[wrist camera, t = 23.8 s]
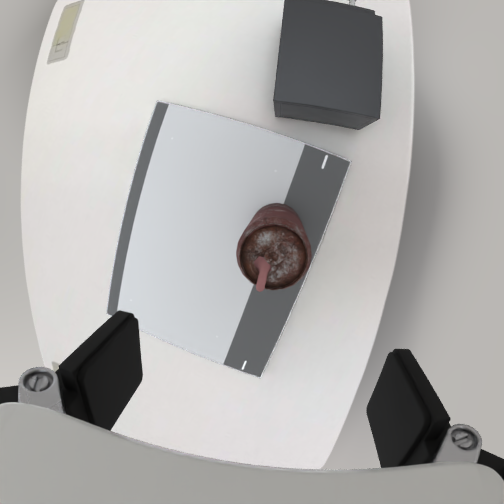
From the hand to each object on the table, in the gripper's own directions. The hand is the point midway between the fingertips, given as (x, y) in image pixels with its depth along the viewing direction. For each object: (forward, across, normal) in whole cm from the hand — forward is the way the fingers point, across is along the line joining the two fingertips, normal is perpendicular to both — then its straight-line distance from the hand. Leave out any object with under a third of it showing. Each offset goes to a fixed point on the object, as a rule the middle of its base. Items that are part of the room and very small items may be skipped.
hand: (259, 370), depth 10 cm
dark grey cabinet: (+28, -4, -20) cm, 35 cm away
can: (+28, 0, 0) cm, 28 cm away
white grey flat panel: (+28, +8, +3) cm, 30 cm away
